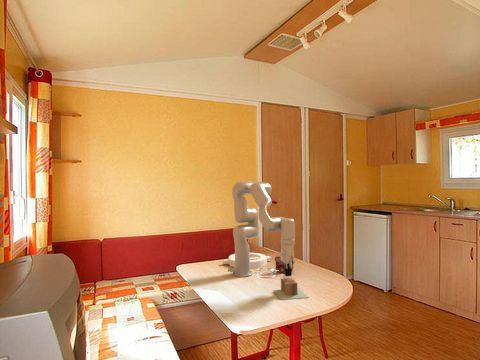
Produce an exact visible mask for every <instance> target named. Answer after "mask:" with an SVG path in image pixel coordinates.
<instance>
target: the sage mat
mask: <svg viewBox="0 0 480 360" xmlns="http://www.w3.org/2000/svg"><path fill="white" fill-rule="evenodd" d="M297 291H298V295H289V296H286V295H285V293H284V292H283V291H282V290H281V289H273V292H274V294H275V295H276V296H277V297H278V299H279V300H280V301H283V300H296V299H297V300H298V299H299V300H300V299H309V296H308V294H306V293H305V292H304V290H303V289H301V288H298V287H297Z"/></svg>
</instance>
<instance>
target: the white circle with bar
mask: <svg viewBox="0 0 480 360" xmlns="http://www.w3.org/2000/svg"><path fill="white" fill-rule="evenodd" d="M270 261H272V257H271V256H268V255H267V256H266V255H265V254H263V253H258V252H250V269H258V268H262V267H265V266H266V265H267V264H268V262H270ZM222 262H223V263H222V264H224V265H229V266H231V267H232V268H234V266H235V253H232V254H230V255H229V256H228V259H223V261H222Z"/></svg>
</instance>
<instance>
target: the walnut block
mask: <svg viewBox="0 0 480 360" xmlns="http://www.w3.org/2000/svg"><path fill="white" fill-rule="evenodd" d="M297 288H298V282H297V281H296V280H294V278H292V276H287V277H281V278H280V290H282V291H283V292H284V293H285V295H286V296H289V295H298V291H297Z"/></svg>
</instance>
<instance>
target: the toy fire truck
mask: <svg viewBox="0 0 480 360" xmlns="http://www.w3.org/2000/svg"><path fill="white" fill-rule="evenodd" d="M274 261H275V270H276V271H277V270H279V271H278V273H279V274H281V273H282V274H285V263H283V262H282V261H281V255H280V256H275V257H274ZM293 269H294V264H292V270H293Z"/></svg>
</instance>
